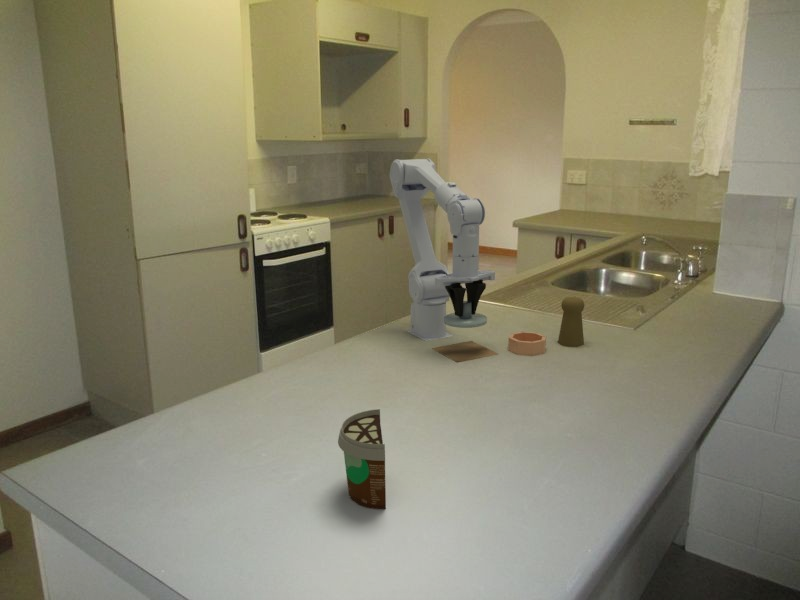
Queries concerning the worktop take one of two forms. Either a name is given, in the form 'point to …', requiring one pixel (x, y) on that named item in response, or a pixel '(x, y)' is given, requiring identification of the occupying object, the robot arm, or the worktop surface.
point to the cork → (571, 322)
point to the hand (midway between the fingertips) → (465, 314)
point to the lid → (465, 318)
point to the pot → (527, 343)
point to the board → (464, 351)
